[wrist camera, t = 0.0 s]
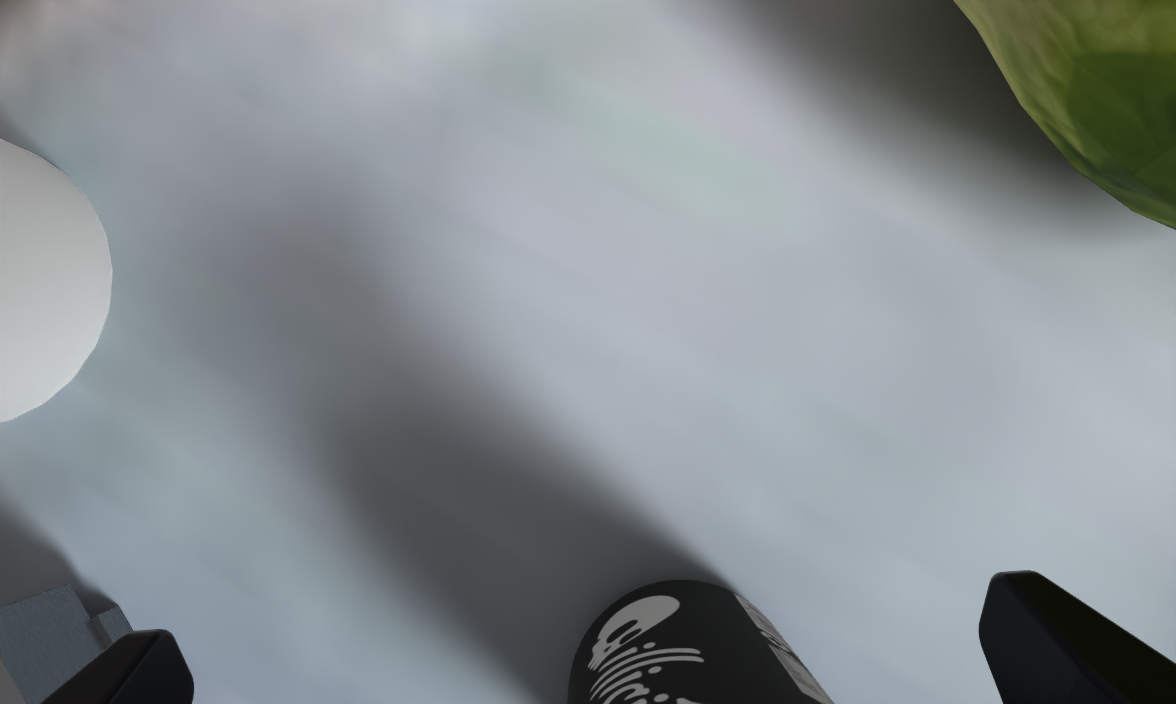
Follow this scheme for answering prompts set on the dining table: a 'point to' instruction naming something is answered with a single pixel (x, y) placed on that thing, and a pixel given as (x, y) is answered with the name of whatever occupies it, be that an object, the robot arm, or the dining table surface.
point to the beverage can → (688, 652)
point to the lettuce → (1095, 87)
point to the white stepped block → (46, 280)
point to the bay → (50, 642)
